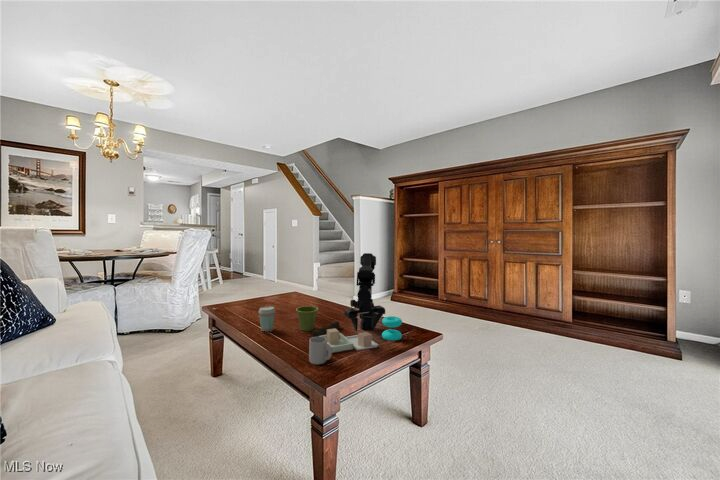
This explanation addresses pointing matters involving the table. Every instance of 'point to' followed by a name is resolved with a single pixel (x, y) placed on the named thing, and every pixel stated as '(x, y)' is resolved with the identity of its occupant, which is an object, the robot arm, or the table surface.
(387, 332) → the donuts
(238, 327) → the table surface
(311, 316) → the plant pot
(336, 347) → the bin
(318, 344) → the cup
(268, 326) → the coffee cup
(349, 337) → the tray
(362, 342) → the tan rectangular block
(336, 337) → the tan rectangular block
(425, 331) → the table surface
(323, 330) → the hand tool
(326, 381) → the table surface
